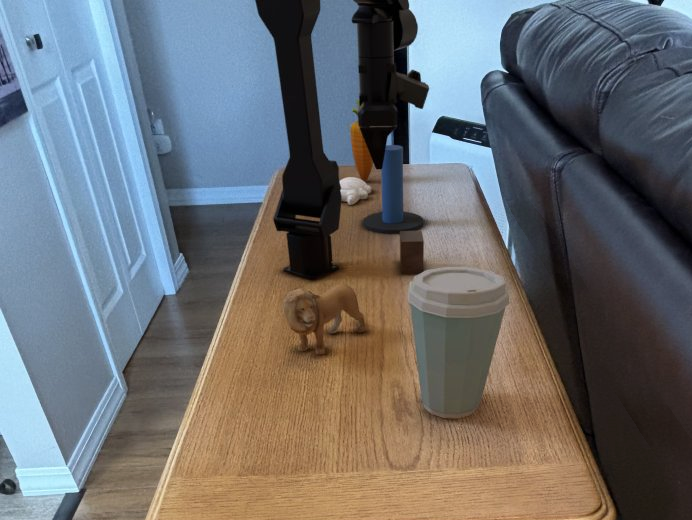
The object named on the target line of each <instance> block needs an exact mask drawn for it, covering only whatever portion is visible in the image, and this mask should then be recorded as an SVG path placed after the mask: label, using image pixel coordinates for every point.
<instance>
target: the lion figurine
mask: <svg viewBox="0 0 692 520" xmlns="http://www.w3.org/2000/svg"><path fill="white" fill-rule="evenodd" d="M282 304H283V313H284V317H285V319H286V322H287V324H288V327H290V329H291V331H293V332H294V333H295V334H298V336H299V340H300V344H298V346H297V350H298V351H299V352H305V351H307V350H308V346H309V345H308V344H309V339H308V336H309V335H311V334H312V333H313V334H314V336H315V354H316V355H320V356H321V355H325V353H326V348H325V341H324V334H325V329H324V328H325V325H326V324H328V323H330V322H332V320H333V325H332V326H331V327H329V328H328V329H327V331H326V332H327V333H328V334H332V335H333V334H335V333H337V332H338V330H339V328H340V325H341V323H342V322H343V317H342V311H343V312H344V313H346V314H347V315H348V316H349V317H351V318H352V319H354V320H355V321H358V323H359V324H358V325H357V326H356V328H355V330H356V332H357V333H364V332H365V331H366V323H365V316H364V314H363V312H361V311H360V307H359V302H358V297H357V294H356V292H355V290H354V289H353V288H352V287H351V286H350V285H347V284H337V285H332V286H331V287H330V288H328V289H327V290H326V291H325V292H323V293H321V294H319V295H318V294H315V293H314V292H312V291H311V290H307V289H305V288H301V287H300V288H294V289H292V290H290V291H289V292H288V293H287V294H286V295H285V299H284V300H283V302H282Z"/></svg>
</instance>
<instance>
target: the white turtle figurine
mask: <svg viewBox="0 0 692 520" xmlns="http://www.w3.org/2000/svg"><path fill="white" fill-rule="evenodd" d="M339 182H340V186H341V190H340V192H341V198H342V199H341V202H343V203H344V202H347V205H349V206H353V205H355V204H356V203H357V202H358V201H359V200H367V199H368V196H369V194H371V193H372V187H371V186H370V185H368V184H367V182H364V181H363V180H362V179H361V178H360V177H354V176H349V177H344V178H342V179H339Z"/></svg>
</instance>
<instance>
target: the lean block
mask: <svg viewBox="0 0 692 520" xmlns="http://www.w3.org/2000/svg"><path fill="white" fill-rule="evenodd" d="M424 243H425V241H424V236H423V230H414V231H400V233H399V265H400V274H401V275H416V274H417V275H418V274H420V273H422V272H424V261H425V260H424V255H425V253H424V251H425V244H424Z"/></svg>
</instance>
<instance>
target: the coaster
mask: <svg viewBox="0 0 692 520" xmlns="http://www.w3.org/2000/svg"><path fill="white" fill-rule="evenodd" d="M424 222H425V221H424V217H422V216H421V215H419V214H416V213H414V212H410V211H403V221H402V222H400V223H385V222H383V218H382V211H380V212H375V213H372V214H369V215H367V216H365V217H364V218H363V220H362V225H363V227H364V228H365V229H367V230H369V231H371V232H374V233H379V234H381V233H382V234H400V231H418V229H420V228H422V227H423V226H424Z"/></svg>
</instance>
